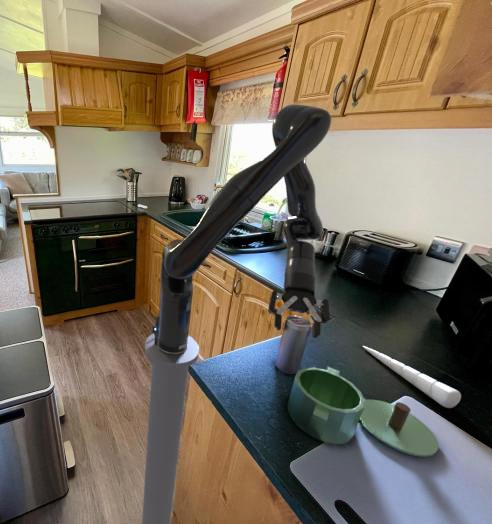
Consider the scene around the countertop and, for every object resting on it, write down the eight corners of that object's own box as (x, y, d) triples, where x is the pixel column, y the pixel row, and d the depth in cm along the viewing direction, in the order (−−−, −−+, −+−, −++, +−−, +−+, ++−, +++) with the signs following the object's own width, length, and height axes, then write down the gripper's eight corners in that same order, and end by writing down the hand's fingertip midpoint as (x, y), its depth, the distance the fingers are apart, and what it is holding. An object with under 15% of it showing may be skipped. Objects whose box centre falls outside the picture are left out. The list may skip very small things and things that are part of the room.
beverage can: (271, 359, 82) (282, 314, 77) (292, 361, 82) (304, 315, 77) (280, 374, 77) (292, 326, 72) (302, 375, 77) (316, 327, 72)
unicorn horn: (372, 346, 90) (377, 333, 89) (458, 409, 68) (467, 393, 67) (359, 347, 90) (364, 334, 88) (441, 410, 68) (449, 394, 66)
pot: (277, 428, 61) (285, 396, 58) (297, 382, 75) (305, 354, 72) (347, 467, 54) (361, 434, 51) (356, 408, 67) (367, 379, 64)
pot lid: (352, 430, 61) (361, 408, 59) (358, 394, 71) (365, 374, 69) (440, 473, 53) (453, 450, 51) (432, 425, 63) (443, 404, 61)
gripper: (274, 267, 80) (269, 323, 74) (333, 275, 76) (333, 336, 69) (270, 278, 86) (264, 330, 80) (323, 286, 82) (322, 342, 76)
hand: (296, 333), depth 75 cm, fingers open, 8 cm apart
